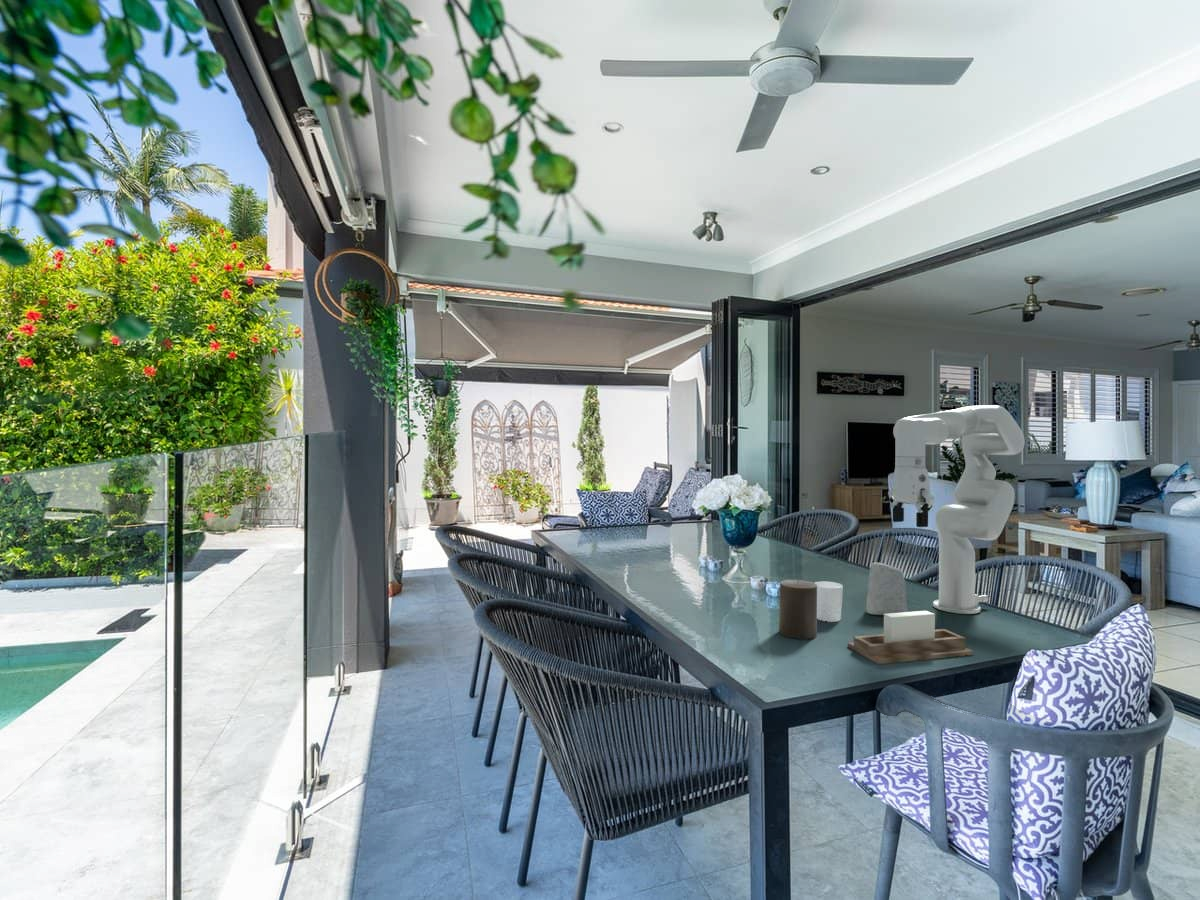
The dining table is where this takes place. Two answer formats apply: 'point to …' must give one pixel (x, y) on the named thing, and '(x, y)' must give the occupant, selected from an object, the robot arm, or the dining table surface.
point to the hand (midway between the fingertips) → (909, 524)
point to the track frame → (910, 648)
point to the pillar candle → (798, 609)
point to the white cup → (829, 601)
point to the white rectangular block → (909, 626)
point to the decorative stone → (886, 590)
